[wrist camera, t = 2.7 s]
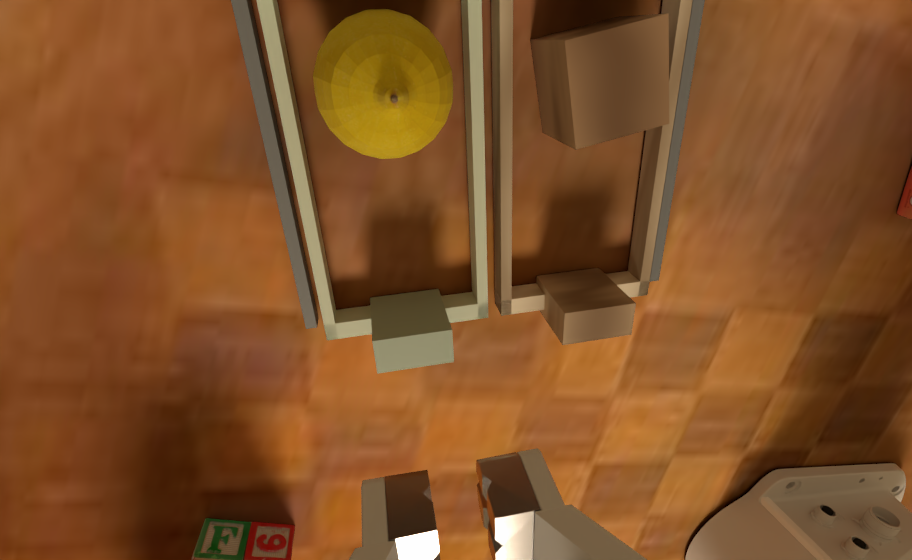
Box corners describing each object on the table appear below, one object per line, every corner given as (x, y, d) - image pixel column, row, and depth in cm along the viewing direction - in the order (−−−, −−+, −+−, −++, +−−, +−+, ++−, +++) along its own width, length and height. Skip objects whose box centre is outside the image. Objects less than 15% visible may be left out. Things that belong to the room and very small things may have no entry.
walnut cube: (616, 17, 24) (668, 13, 20) (621, 110, 26) (669, 123, 22) (529, 40, 23) (564, 40, 20) (542, 132, 26) (575, 149, 22)
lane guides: (705, -86, 22) (719, -91, 21) (650, 273, 31) (658, 280, 30) (219, -75, 19) (212, -80, 18) (307, 319, 28) (306, 328, 27)
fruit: (311, 14, 21) (289, 4, 14) (435, 11, 22) (472, 0, 15) (329, 142, 24) (318, 188, 17) (440, 135, 25) (474, 175, 18)
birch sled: (680, -44, 23) (748, -61, 19) (633, 290, 31) (674, 327, 27) (490, -38, 21) (521, -54, 17) (495, 309, 30) (516, 352, 26)
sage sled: (472, -37, 21) (499, -54, 17) (482, 311, 30) (502, 354, 26) (256, -29, 20) (232, -45, 16) (329, 333, 28) (325, 381, 24)
